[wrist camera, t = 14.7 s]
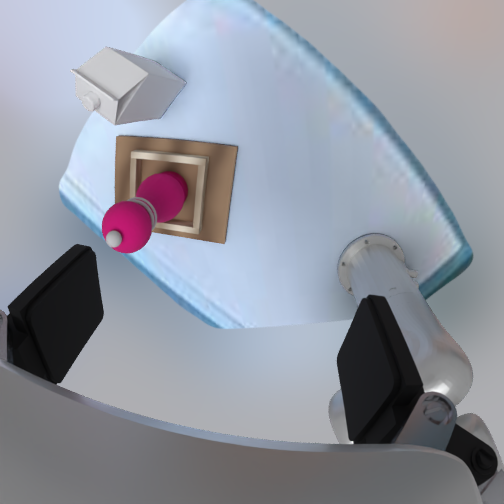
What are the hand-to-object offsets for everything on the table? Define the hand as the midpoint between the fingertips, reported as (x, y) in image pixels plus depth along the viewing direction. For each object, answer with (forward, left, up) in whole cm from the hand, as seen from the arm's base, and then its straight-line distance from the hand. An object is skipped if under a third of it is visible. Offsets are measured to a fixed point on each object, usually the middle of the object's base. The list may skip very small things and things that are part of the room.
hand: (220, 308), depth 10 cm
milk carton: (+18, -8, -38) cm, 43 cm away
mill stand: (+14, +8, -38) cm, 42 cm away
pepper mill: (+14, +8, -37) cm, 41 cm away
